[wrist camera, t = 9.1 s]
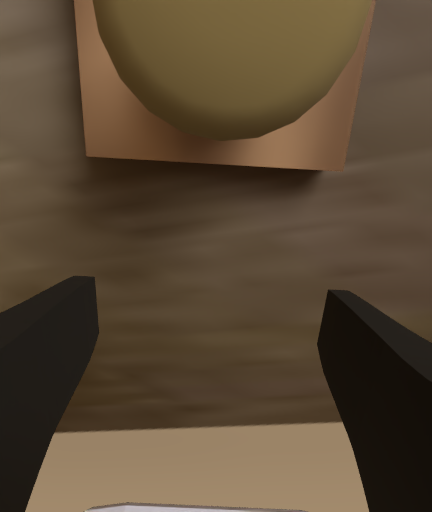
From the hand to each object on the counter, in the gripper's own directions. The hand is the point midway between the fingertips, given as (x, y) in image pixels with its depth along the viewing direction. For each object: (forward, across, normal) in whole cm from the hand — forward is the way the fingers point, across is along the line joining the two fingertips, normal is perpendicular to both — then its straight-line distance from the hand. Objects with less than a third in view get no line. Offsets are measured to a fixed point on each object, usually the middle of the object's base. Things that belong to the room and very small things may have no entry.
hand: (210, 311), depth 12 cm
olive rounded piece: (+8, 0, -8) cm, 11 cm away
